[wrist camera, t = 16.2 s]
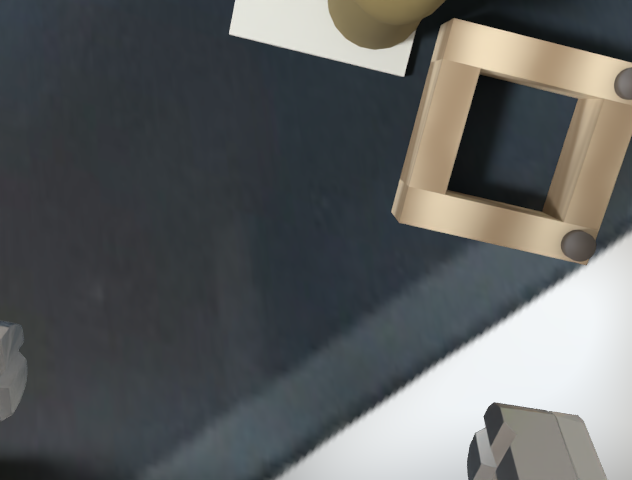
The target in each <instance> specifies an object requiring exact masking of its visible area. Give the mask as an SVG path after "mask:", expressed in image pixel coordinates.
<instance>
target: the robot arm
mask: <svg viewBox="0 0 632 480" xmlns="http://www.w3.org/2000/svg"><path fill="white" fill-rule="evenodd" d="M23 342H24V337H23V331H22V326H20V325H18V324H16V323H11V322H6V321H0V421H2V420H4V419H5V418H7V417H9V416H10V415H12V414H13V412H14V411H15V409H16V407H17V405H18V404H19V402H20V400H21V397H22V394H23V391H24V388H25V385H26V381H27V371H28V370H27V360H26V359H25V358H24V357H23V356H22V354H21V353H20V352H19V351H18V349H19V348H20V346H21V345H22V343H23ZM484 420H485V425H486V427H485V428H484V429H482V430H480V431H478V432H476V433H475V435H474V437H473V440H472V442H471V444H470V447H469V454H468V460H467V469H468V479H469V480H607V478H606V475H605V473H604V470H603V468H602V465H601V463H600V461H599V458H598V456H597V453H596V451H595V449H594V446H593V443H592V441H591V438H590V436H589V433H588V431H587V429H586V426H585V423H584V421H583V420H582V419H581V418H580V417H579V416H578V415H571V414H565V413H558V412H552V411H549V412H548V411H546V410H540V409H533V408H526V407H520V406H514V405H507V404H501V403H493V404H491V405H490V406H489V407H488V409H487V411H486V413H485V415H484Z"/></svg>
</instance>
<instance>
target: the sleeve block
mask: <svg viewBox="0 0 632 480" xmlns="http://www.w3.org/2000/svg"><path fill="white" fill-rule="evenodd" d="M479 74H480V75H484V76H488V77H493V78H497V79H501V80H505V81H509V82H513V83H517V84H521V85H525V86H529V87H533V88H537V89H541V90H545V91H549V92H553V93H558V94H562V95H566V96H570V97H574V98H578V101H577V104H576V108H575V111H574V114H573V117H572V120H571V123H570V126H569V129H568V133H567V136H566V139H565V142H564V145H563V148H562V151H561V154H560V157H559V161H558V164H557V167H556V170H555V173H554V176H553V179H552V182H551V185H550V189H549V192H548V195H547V198H546V201H545V204H544V207H543V210H542V212H540V211H536V210H532V209H528V208H523V207H519V206H515V205H510V204H506V203H502V202H497V201H493V200H489V199H484V198H480V197H476V196H472V195H467V194H463V193H459V192H454V191H450V190H447V186H448V183H449V179H450V176H451V172H452V169H453V165H454V162H455V158H456V155H457V151H458V148H459V144H460V140H461V137H462V133H463V130H464V126H465V123H466V119H467V116H468V112H469V109H470V105H471V102H472V98H473V94H474V91H475V87H476V84H477V80H478V77H479ZM631 136H632V63H631V62H627V61H623V60H619V59H615V58H611V57H607V56H603V55H599V54H595V53H591V52H587V51H583V50H579V49H575V48H571V47H567V46H563V45H559V44H555V43H551V42H547V41H543V40H539V39H535V38H531V37H527V36H523V35H519V34H515V33H511V32H507V31H503V30H500V29H496V28H492V27H488V26H484V25H480V24H476V23H472V22H468V21H464V20H460V19H456V18H453V19H451V20H450V21H448V22H446V23H444V24H442V25H441V26H440V30H439V33H438V37H437V41H436V45H435V49H434V52H433V56H432V60H431V64H430V67H429V71H428V75H427V79H426V83H425V86H424V90H423V94H422V98H421V101H420V105H419V109H418V113H417V117H416V120H415V124H414V128H413V132H412V136H411V139H410V143H409V147H408V151H407V154H406V158H405V162H404V166H403V170H402V173H401V177H400V181H399V185H398V188H397V192H396V196H395V200H394V204H393V207H392V211H391V212H392V214H393V215H394V216H395V218H396V219H397V220H398V222H399V223H403V224H408V225H412V226H416V227H421V228H425V229H430V230H434V231H438V232H443V233H447V234H452V235H456V236H460V237H465V238H469V239H474V240H478V241H482V242H487V243H491V244H496V245H500V246H504V247H509V248H513V249H518V250H522V251H526V252H531V253H535V254H540V255H544V256H548V257H553V258H557V259H562V260H566V261H570V262H575V263H579V264H584V265H587V263H588V260H589V258H590V257H592V255H593V254H594V252H595V250H596V241H595V240H596V237H597V234H598V231H599V229H600V226H601V223H602V220H603V217H604V214H605V211H606V208H607V205H608V202H609V200H610V197H611V194H612V191H613V188H614V185H615V182H616V179H617V176H618V173H619V171H620V168H621V165H622V162H623V159H624V156H625V153H626V150H627V147H628V144H629V142H630V139H631Z"/></svg>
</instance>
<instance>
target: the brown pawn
mask: <svg viewBox="0 0 632 480" xmlns="http://www.w3.org/2000/svg"><path fill="white" fill-rule="evenodd" d="M445 1H446V0H328V9H329V13H330V16H331V18H332V20H333V23H334V25H335V27H336V28H337V29H338V30H339V32H340V33H341V34H342V35H343V36H344V37H345V38H346V39H347V40H349V41H350V42H352V43H354V44H356V45H357V46H359V47H363V48H368V49H373V50H377V49H385V48H391V47H393V46H395V45H397V44H399V43H401V42H403V41H405V40H406V39H407V38H408V37H409V36H410V35H411V34H412V33H413V32H414V31H415V30H416V29H417V27H418V25H419V23H420V21H421V20H422V19H423V18H425V17H427V16H429V15H431V14H432V13H433V12H434V11H435V10H436V9H437V8H438V7H439V6H440V5H442V4H443V3H444V2H445Z"/></svg>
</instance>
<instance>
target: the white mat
mask: <svg viewBox="0 0 632 480" xmlns="http://www.w3.org/2000/svg"><path fill="white" fill-rule="evenodd" d="M415 32H416V30H415V31H414V32H413V33H412V34H411V35H410V36H409V37H408V38H407V39H406V40H405V41H403V42H401V43H399V44H397V45H395V46H393V47H391V48H385V49H377V50H373V49H368V48H363V47H359V46H357V45H356V44H354V43H352V42H350V41H349V40H347V39H346V38H345V37H344V36H343V35H342V34H341V33H340V32H339V30H338V29H337V28H336V27H335V25H334V23H333V20H332V18H331V16H330V13H329V9H328V0H235V5H234V11H233V16H232V21H231V26H230V32H229V34H230V35H233V36H237V37H241V38H245V39H249V40H253V41H257V42H262V43H266V44H270V45H274V46H278V47H282V48H286V49H290V50H294V51H299V52H303V53H307V54H311V55H315V56H319V57H323V58H327V59H331V60H335V61H340V62H344V63H348V64H352V65H356V66H360V67H364V68H368V69H372V70H376V71H381V72H385V73H389V74H393V75H397V76H401V77H404V75H405V71H406V67H407V63H408V59H409V55H410V51H411V47H412V44H413V40H414V36H415Z"/></svg>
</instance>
